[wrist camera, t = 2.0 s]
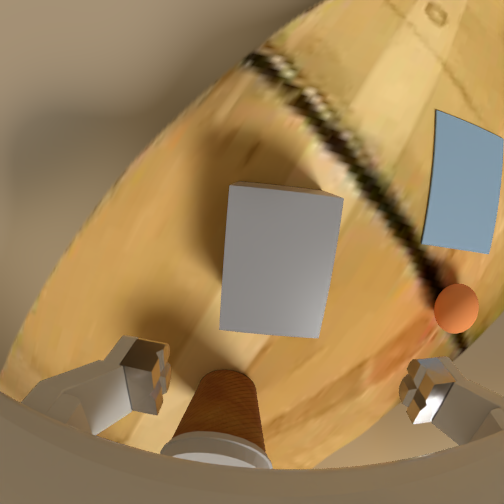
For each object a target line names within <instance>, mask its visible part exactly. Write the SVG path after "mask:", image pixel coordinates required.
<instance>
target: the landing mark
mask: <svg viewBox="0 0 504 504" xmlns="http://www.w3.org/2000/svg"><path fill="white" fill-rule="evenodd" d="M502 163H503V138H501V137H499V136H497V135H495V134H493V133H490V132H488V131H486V130H484V129H482V128H480V127H478V126H475V125H473V124H471V123H468V122H466V121H464V120H461V119H459V118H456V117H454V116H451V115H449V114H446V113H443V112H441V111H438V110H436V123H435V143H434V157H433V168H432V177H431V186H430V193H429V201H428V207H427V214H426V220H425V225H424V231H423V236H422V241H421V244H426V245H433V246H439V247H446V248H453V249H459V250H466V251H472V252H478V253H484V254H489V252H490V247H491V243H492V238H493V233H494V228H495V222H496V216H497V210H498V203H499V195H500V187H501V176H502Z"/></svg>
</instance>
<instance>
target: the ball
mask: <svg viewBox="0 0 504 504" xmlns="http://www.w3.org/2000/svg"><path fill="white" fill-rule="evenodd" d="M478 310H479V304H478V299H477V296H476V294H475V293H474V291H473V290H472V289H471V288H470V287H468V286H466V285H464V284H452V285H450V286H448V287H446V288H445V289H443V290H442V291H441V293H440V294H439V295H438V297H437V299H436V302H435V307H434V314H435V318H436V321H437V323H438V325H439V326H440V327H441V328H442V329H443V330H445V331H446V332H449V333H461V332H464V331H466V330H467V329H469V328H470V327H471V326H472V325H473V323H474V322H475V320H476V318H477V315H478Z"/></svg>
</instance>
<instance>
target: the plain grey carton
mask: <svg viewBox="0 0 504 504" xmlns="http://www.w3.org/2000/svg"><path fill="white" fill-rule="evenodd" d="M343 200H344V198H342V197H339V196H336V195H333V194H331V193H328V192H325V191H322V190H315V189H307V188H299V187H291V186H282V185H273V184H263V183H253V182H242V181H238V182H236V183H233V184H231V185H229V197H228V209H227V222H226V235H225V248H224V262H223V277H222V293H221V310H220V328H219V330H226V331H235V332H244V333H255V334H265V335H277V336H291V337H306V338H319V334H320V329H321V325H322V320H323V316H324V311H325V306H326V301H327V296H328V291H329V286H330V281H331V276H332V270H333V265H334V259H335V253H336V247H337V241H338V235H339V228H340V222H341V215H342V208H343Z"/></svg>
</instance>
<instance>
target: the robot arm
mask: <svg viewBox="0 0 504 504" xmlns="http://www.w3.org/2000/svg"><path fill="white" fill-rule="evenodd" d="M169 356H170V347H169V345H168V343H163V342H158V341H153V340H148V339H143V338H138V337H134V336H129V335H124V336H122V337H121V339H120V340H119V341H118V342H117V344H116V345H115V346H114V348H113V349H112V350H111V351H110V353H109V354H108V355H107V357H106V358H105V359H104V361H101V360H98V361H95V362H93V363H90V364H87V365H84V366H82V367H79V368H76V369H73V370H71V371H68V372H65V373H62V374H59V375H57V376H54V377H51V378H48V379H45V380H42V381H40V382H39V383H38V384H37V385H36V386H35V387H34V388H33V389H32V391H31V392H30V393H29V394H28V395H27V396H26V397H25V399H24V400H23V401H22V402H21V403H20V402H18V401H16V400H15V399H13V398H11V397H9V396H7V395H6V394H4V393H2V392H0V504H504V397H503V396H502V395H499V394H497V393H495V392H493V391H491V390H489V389H487V388H485V387H483V386H481V385H479V384H477V383H475V382H473V381H471V380H467V379H466V378H465V377H464V376H463V375H462V373H461V372H460V371H459V370H458V368H457V367H456V366H455V365H454V364H453V362H452V361H451V360H450V359H449V358H448V357H446V356H443V357H435V358H426V359H412V361H411V362H410V363H409V365H408V367H407V371H408V374H407V375H406V376H405V377H404V378H403V379H402V381H401V384H400V386H399V397H400V400H401V402H402V404H404V405H405V406H407V407H408V408H407V411H406V412H407V414H408V416H409V418H410V420H411V422H412V424H418V423H426V422H432V424H434V425H435V426H436V427H437V428H439V429H440V430H441V431H442V432H443V433H445V434H446V435H447V436H448V437H450V438H451V439H452V440H453V441H455V442H456V443H457V444H458V445H459V446H456V447H453V448H449V449H446V450H442V451H438V452H435V453H430V454H426V455H422V456H417V457H413V458H408V459H402V460H397V461H392V462H386V463H378V464H371V465H363V466H355V467H342V468H327V469H263V468H248V467H236V466H227V465H219V464H211V463H204V462H198V461H192V460H186V459H181V458H176V457H171V456H166V455H162V454H157V453H153V452H149V451H145V450H141V449H137V448H134V447H130V446H127V445H123V444H120V443H117V442H113V441H110V440H107V439H104V438H101V437H98V436H95V435H97V434H98V433H100V432H101V431H103V430H105V429H106V428H108V427H109V426H111V425H112V424H114V423H115V422H117V421H118V420H120V419H121V418H123V417H124V416H126V415H127V414H129V413H130V412H132V410H134V411H138V412H143V413H148V414H153V415H158V413H159V410H160V408H161V406H162V403H163V394H165V393H166V392H167V391H168V388H169V384H170V379H171V365H170V364H169V363H168V361H167V360H168V358H169Z"/></svg>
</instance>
